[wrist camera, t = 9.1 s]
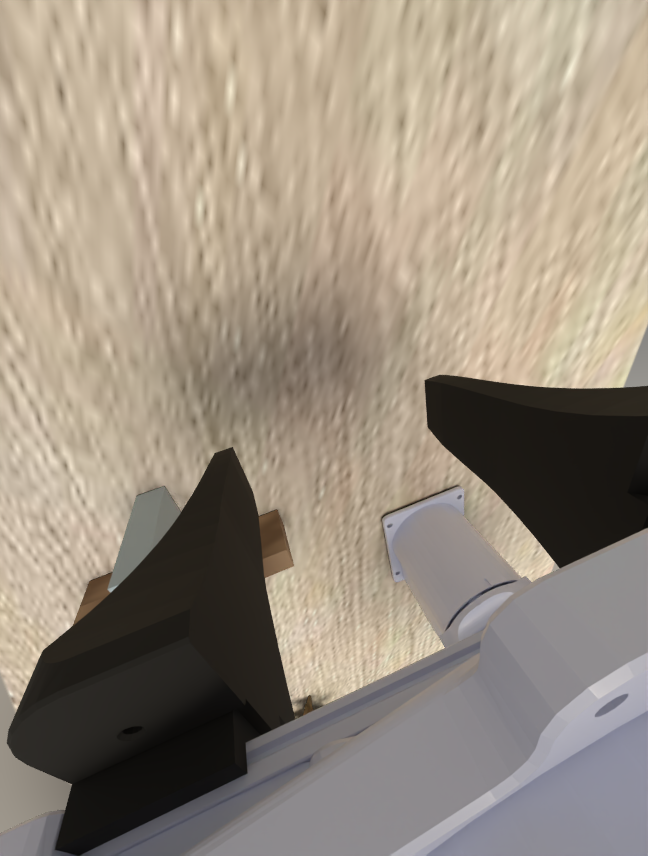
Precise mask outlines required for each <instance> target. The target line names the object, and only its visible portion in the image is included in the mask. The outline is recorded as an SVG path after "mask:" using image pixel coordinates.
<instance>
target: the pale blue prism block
mask: <svg viewBox="0 0 648 856" xmlns="http://www.w3.org/2000/svg"><path fill="white" fill-rule="evenodd" d="M180 513H181V511H180V510H179V508H178V507H177V505H176V504H175V502H174V501H173V499H172V497H171V496H170V494H169V493H168V491H167V490H166V488H165V486H163V487H160V488H158V489H155V490H152V491H149V492H146V493H144V494H141V495H138V496H136V500H135V503H134V506H133V509H132V512H131V516H130V519H129V522H128V525H127V528H126V531H125V535H124V538H123V541H122V544H121V547H120V551H119V554H118V557H117V560H116V563H115V567H114V570H113V573H112V576H111V579H110V582H109V586H108V589H107V590H108V591H109V592H110V593H111V592H112V591H113V590H114V589H115V588H116V587H117V586H118V585H119V584H120V583H121V582H122V581H123V580H124V579H125V578H126V577H127V576H128V575H129V574H130V573H131V572H132V571H133V570H134V569H135V568H136V567H137V566H138V565H139V564H140V563H141V561H142V560H143V559H144V558H145V557H146V556H147V555H148V554H149V553H150V551H151V550H152V549H153V548H154V547H155V546H156V545H157V544H158V542H159V541H160V540H161V539H162V537H163V536H164V535H165V534H166V532H167V531H168V530H169V529H170V527H171V526H172V525H173V523H174V522H175V520H176V519H177V518H178V516H179V515H180Z"/></svg>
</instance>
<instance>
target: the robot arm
mask: <svg viewBox="0 0 648 856" xmlns="http://www.w3.org/2000/svg"><path fill="white" fill-rule="evenodd" d="M425 394H426V409H427V424H428V428H429V429H430V430H431V432H432V433H433V434H434V435H435V437H436V438H437V439H438V440H439V441H440V443H441V444H442V445H443V446H444V447H445V448H446V449H447V450H449V451H450V452H451V453H452V454H453V455H454V456H455V457H456V458H457V459H459V460H460V461H461V462H462V463H463V464H464V465H465V466H467V467H468V468H469V469H470V470H471V471H472V472H474V473H475V474H476V475H477V476H478V477H479V478H480V479H482V480H483V481H484V482H485V483H486V484H487V485H488V486H489V487H490V488H491V489H492V490H493V491H494V492H496V494H497V495H498V496H499V497H500V498H501V499H502V500H503V501H504V502H505V503H506V504H507V506H508V507H509V508H510V509H511V510H512V511H513V512H514V513H515V514H516V515H517V517H518V518H519V519H520V520H521V521H522V522H523V524H524V525H525V526H526V527H527V528H528V529H529V531H530V532H531V533H532V534H533V535H534V536H535V538H536V539H537V540H538V541H539V543H540V544H541V545H542V546H543V548H544V549H545V550H546V551H547V553H548V554H549V555H550V556H551V558H552V559H553V560H554V561H555V563H556V564H557V565H558V567H559V568H560V569H558V570H556V571H553V572H551V573H549V574H547V575H545V576H543V577H540V578H538V579H537V580H535V581H533V582H531V581H530V580H529V579H528V578H527V577H526V576H524V577H523V578H521V577H520V576H519V574H518V573H517V572H516V571H515V570H514V569H513V568H512V567H511V566H510V565H509V564H508V563H507V562H506V561H505V560H504V559H503V557H502V556H501V555H500V554H499V553H498V552H497V551H496V550H495V549H494V548H493V547H492V546H491V545H490V544H489V543H488V542H487V540H486V539H485V538H484V537H483V536H482V535H481V534H480V533H479V532H478V531H477V530H476V529H475V528H474V527H473V526H472V524H471V523H470V522H469V521H468V520H467V519H466V518H465V517H464V489H463V488H462V487H460V486H458V487H455V488H453V489H450V490H448V491H445V492H443V493H440V494H438V495H435V496H433V497H430V498H428V499H425V500H423V501H420V502H418V503H416V504H413V505H411V506H408V507H406V508H403V509H401V510H398V511H396V512H393V513H391V514H388V515H386V516H384V517H383V519H382V523H383V528H384V534H385V539H386V544H387V550H388V555H389V560H390V566H391V571H392V577H393V579H394V581H395V582H400V581H402V580H405V581H406V583H407V585H408V587H409V588H410V590H411V592H412V593H413V595H414V597H415V599H416V600H417V602H418V604H419V606H420V607H421V609H422V611H423V612H424V614H425V616H426V618H427V619H428V621H429V623H430V625H431V626H432V628H433V630H434V631H435V633H436V634H437V635H438V636H439V638H440V640H441V642H442V643H443V645H444V647H445V648H444V649H442V650H440V651H438V652H436V653H434V654H432V655H429V656H427V657H425V658H423V659H421V660H419V661H417V662H415V663H413V664H410V665H408V666H406V667H404V668H402V669H400V670H398V671H396V672H394V673H392V674H389V675H387V676H385V677H383V678H381V679H379V680H377V681H375V682H373V683H370V684H368V685H366V686H364V687H362V688H360V689H358V690H356V691H354V692H352V693H349V694H347V695H345V696H343V697H341V698H339V699H337V700H335V701H333V702H330V703H328V704H326V705H324V706H322V707H320V708H318V709H316V710H314V711H312V712H309V713H307V714H305V715H303V716H301V717H299V718H297V719H295V716H294V712H293V708H292V704H291V700H290V695H289V691H288V687H287V683H286V678H285V674H284V670H283V665H282V661H281V656H280V652H279V648H278V643H277V638H276V634H275V629H274V624H273V620H272V615H271V610H270V605H269V600H268V595H267V590H266V584H265V577H264V568H263V557H262V546H261V536H260V526H259V516H258V512H257V507H256V503H255V499H254V494H253V491H252V489H251V487H250V484H249V482H248V480H247V478H246V476H245V473H244V471H243V469H242V467H241V465H240V462H239V460H238V458H237V456H236V454H235V451H234V449H233V447H231V448H229V449H226V450H223V451H220V452H217V453H215V454H214V456H213V458H212V459H211V461H210V463H209V465H208V467H207V469H206V471H205V473H204V475H203V477H202V478H201V480H200V482H199V484H198V486H197V487H196V489H195V491H194V493H193V494H192V496H191V498H190V499H189V501H188V502H187V504H186V505H185V507H184V509H183V510H182V512H181V513H180V515H179V516H178V518H177V519H176V520H175V522H174V523H173V525H172V526H171V527H170V529H169V530H168V531H167V532H166V534H165V535H164V536H163V537H162V539H161V540H160V541H159V542H158V544H157V545H156V546H155V547H154V548H153V549H152V550H151V551H150V553H149V554H148V555H147V556H146V557H145V558H144V559H143V560H142V561H141V563H140V564H139V565H138V566H137V567H136V568H135V569H134V570H133V571H132V572H131V573H130V574H129V575H128V576H127V577H126V578H125V579H124V580H123V581H122V582H121V583H120V584H119V585H118V586H117V587H116V588H115V589H114V590H113V591H112V592H111V593H110V594H109V595H108V596H107V597H105V598H104V599H103V600H102V601H101V602H100V603H99V604H98V605H97V606H96V607H94V608H93V609H92V610H91V611H90V612H89V613H88V614H86V615H85V616H84V617H83V618H82V619H81V620H79V621H78V622H77V623H76V624H75V625H73V626H72V627H71V628H70V629H69V630H67V631H66V632H65V633H64V634H63V635H61V636H60V637H59V638H58V639H57V640H55V641H54V642H53V643H52V644H50V645H49V646H48V647H47V648H45V649H44V650H43V652H42V654H41V656H40V658H39V660H38V663H37V665H36V667H35V670H34V672H33V674H32V677H31V679H30V681H29V684H28V686H27V688H26V691H25V693H24V695H23V698H22V700H21V702H20V705H19V707H18V709H17V712H16V714H15V716H14V719H13V721H12V724H11V726H10V728H9V731H8V739H7V744H8V746H9V748H10V749H11V751H12V753H13V755H14V756H15V757H16V758H18V759H19V760H21V761H22V762H24V763H25V764H27V765H29V766H31V767H34V768H36V769H38V770H40V771H43V772H45V773H47V774H50V775H52V776H54V777H56V778H59V779H61V780H63V781H66V782H68V783H70V784H72V787H71V791H70V794H69V798H68V802H67V806H66V810H57V811H50V812H47V813H44V814H41V815H38V816H36V817H34V818H32V819H29V820H27V821H25V822H23V823H21V824H19V825H16V826H14V827H12V828H10V829H8V830H6V831H4V832H1V833H0V856H648V386H641V387H626V388H594V389H571V388H548V387H534V386H524V385H515V384H507V383H499V382H492V381H486V380H479V379H472V378H466V377H459V376H450V375H438V376H435V377H432V378H429V379H427V380H425Z"/></svg>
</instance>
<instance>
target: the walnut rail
mask: <svg viewBox="0 0 648 856" xmlns="http://www.w3.org/2000/svg"><path fill="white" fill-rule="evenodd" d="M259 526H260V536H261V546H262V557H263V568H264V577H265V578H266V577H268V576H271V575H273V574H276V573H278V572H280V571H283V570H285V569H288V568H290V567H293V566H294V564H293V560H292V556H291V552H290V548H289V544H288V540H287V536H286V532H285V528H284V525H283V522H282V520H281V518H280V515H279V513H278V510H275V511H272V512H269V513H267V514H264V515H262V516H259ZM112 573H113V572H112ZM112 573H110V574H107V575H104V576H102V577H99V578H97V579H94V580H91V581H89V584H88V587H87V589H86V592H85V595H84V597H83V600H82V603H81V605H80V608H79V611H78V613H77V616H76V619H75V621H74V624H73V625H75V624H76V623H77V622H78V621H79V620H81V619H82V618H83V617H84V616H85V615H86V614H88V613H89V612H90V611H91V610H92V609H93V608H94V607H96V606H97V605H98V604H99V603H100V602H101V601H102V600H103V599H104V598H105V597H107V596H108V595H109V594H110V592H109V591H108V590H107V589H108V586H109V582H110V579H111V576H112Z"/></svg>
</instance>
